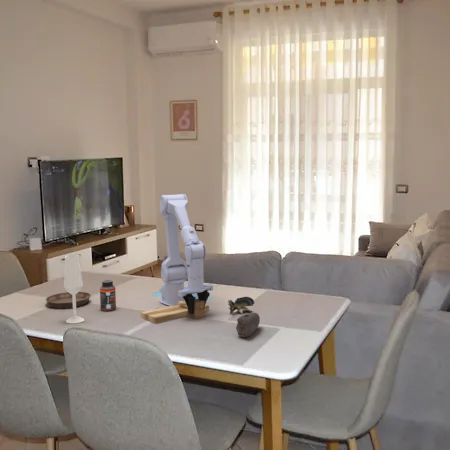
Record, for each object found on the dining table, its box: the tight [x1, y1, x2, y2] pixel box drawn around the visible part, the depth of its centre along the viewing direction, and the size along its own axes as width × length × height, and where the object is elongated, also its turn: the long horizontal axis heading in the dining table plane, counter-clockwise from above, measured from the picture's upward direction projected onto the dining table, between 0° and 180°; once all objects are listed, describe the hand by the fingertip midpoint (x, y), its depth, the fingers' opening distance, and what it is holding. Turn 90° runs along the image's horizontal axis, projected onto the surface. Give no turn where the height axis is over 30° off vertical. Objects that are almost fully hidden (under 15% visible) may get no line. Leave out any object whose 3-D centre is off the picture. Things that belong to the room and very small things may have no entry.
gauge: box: [178, 297, 206, 320], centre depth 210 cm, size 14×4×6 cm, turn 42°
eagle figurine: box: [227, 296, 255, 315], centre depth 211 cm, size 8×7×9 cm
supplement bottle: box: [99, 279, 117, 312], centre depth 218 cm, size 6×6×11 cm
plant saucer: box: [45, 291, 92, 309], centre depth 228 cm, size 18×18×3 cm
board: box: [140, 304, 210, 325], centre depth 211 cm, size 10×24×2 cm, turn 129°
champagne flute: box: [63, 254, 85, 324], centre depth 203 cm, size 7×7×24 cm
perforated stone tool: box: [235, 312, 261, 338], centre depth 187 cm, size 15×5×7 cm, turn 152°
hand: (196, 312), depth 207 cm, fingers closed on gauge, 4 cm apart
